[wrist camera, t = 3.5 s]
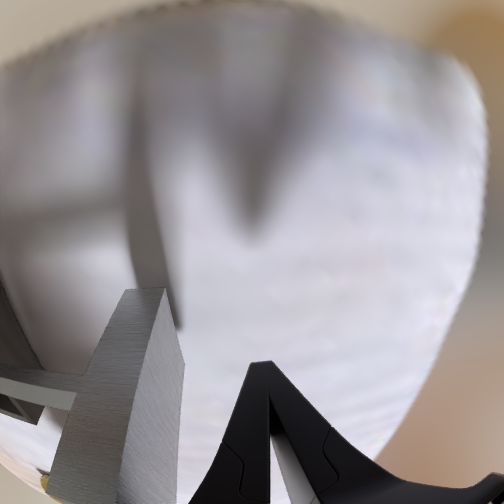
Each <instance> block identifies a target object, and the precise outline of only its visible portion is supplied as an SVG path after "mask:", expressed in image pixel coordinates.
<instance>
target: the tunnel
mask: <svg viewBox="0 0 504 504" xmlns="http://www.w3.org/2000/svg"><path fill="white" fill-rule="evenodd" d="M0 362H1V363H6V364H11V365H16V366H21V367H26V368H32V369H37V370H44V369H43V368H42V366H41V364H40V363H39V361H38V359H37V358H36V356H35V354H34V352H33V351H32V349H31V347H30V345H29V343H28V342H27V340H26V338H25V336H24V334H23V332H22V330H21V328H20V326H19V324H18V322H17V320H16V318H15V315H14V313H13V311H12V309H11V306H10V304H9V302H8V299H7V297H6V295H5V292H4V290H3V287H2V284H1V282H0ZM44 407H45V406H44V405H39V404H35V403H32V402H28V401H24V400H21V399H17V398H14V397H11V396H7V395H4V394H1V393H0V413H2V414H5V415H8V416H10V417H13V418H16V419H19V420H21V421H24V422H27V423H31V424H34V425H37V423H38V421H39V418H40V416H41V414H42V411H43V409H44Z"/></svg>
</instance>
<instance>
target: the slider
mask: <svg viewBox="0 0 504 504" xmlns="http://www.w3.org/2000/svg"><path fill="white" fill-rule="evenodd" d="M184 368H185V363H184V360H183V356H182V353H181V349H180V345H179V342H178V338H177V334H176V330H175V326H174V322H173V318H172V314H171V310H170V306H169V301H168V297H167V293H166V288H165V287H157V288H142V289H126V290H125V291H124V293H123V295H122V297H121V299H120V301H119V303H118V305H117V307H116V309H115V311H114V313H113V315H112V317H111V319H110V321H109V323H108V325H107V327H106V329H105V331H104V333H103V335H102V337H101V339H100V341H99V343H98V345H97V348H96V350H95V352H94V354H93V356H92V359H91V361H90V363H89V365H88V368H87V370H86V372H85V375H74V374H66V373H58V372H50V371H44V370H37V369H32V368H26V367H21V366H16V365H11V364H6V363H1V362H0V393H1V394H4V395H7V396H11V397H14V398H17V399H21V400H24V401H28V402H32V403H35V404H39V405H44V406H48V407H52V408H57V409H62V410H67V411H70V412H69V415H68V418H67V421H66V423H65V426H64V429H63V432H62V435H61V438H60V441H59V444H58V447H57V451H56V454H55V457H54V461H53V464H52V467H51V471H50V475H49V479H48V483H47V487H46V491H45V493H47V494H48V495H50V496H52V497H53V498H55V499H56V500H58V501H60V502H61V503H63V504H176V491H177V461H178V442H179V426H180V412H181V400H182V388H183V378H184Z"/></svg>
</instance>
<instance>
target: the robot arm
mask: <svg viewBox="0 0 504 504" xmlns="http://www.w3.org/2000/svg"><path fill="white" fill-rule="evenodd" d="M270 438H271V441H272V444H273V447H274V451H275V454H276V457H277V460H278V464H279V467H280V470H281V473H282V476H283V480H284V483H285V486H286V489H287V492H288V495H289V498H290V501H291V504H504V474H500V473H495V472H492V473H490V474H489V475H487V476H486V477H485V478H484V479H482V480H481V481H479V482H478V483H477V484H475V485H474V486H471V487H468V488H462V489H461V488H448V487H440V486H433V485H426V484H421V483H415V482H410V481H406V480H403V479H401V478H398V477H396V476H394V475H393V474H391V473H389V472H388V471H387V470H385V469H383V468H382V467H381V466H379V465H378V464H376V463H375V462H374V461H372V460H371V459H369V458H368V457H367V456H365V455H364V454H363V453H361V452H360V451H359V450H358V449H356V448H355V447H354V446H352V445H351V444H350V443H349V442H348V441H347V440H346V439H345V438H344V437H343V436H342V435H340V434H339V432H338V431H337V430H336V429H335V428H334V427H331V424H330V423H329V422H328V421H327V420H326V419H325V418H324V417H323V416H322V415H321V414H320V413H319V412H318V411H317V410H316V409H315V408H314V407H313V405H312V404H311V403H310V402H309V401H308V400H307V399H306V398H305V397H304V396H303V395H302V394H301V392H300V391H299V390H298V389H297V388H296V387H295V386H294V385H293V384H292V383H291V381H290V380H289V379H288V378H287V377H286V376H285V375H284V374H283V372H282V371H281V370H280V369H279V368H278V367H277V366H276V365H275V363H274V362H273V361H262V362H252V363H250V365H249V368H248V371H247V374H246V377H245V379H244V382H243V385H242V388H241V390H240V393H239V396H238V399H237V402H236V404H235V407H234V410H233V412H232V415H231V418H230V420H229V423H228V426H227V428H226V431H225V434H224V436H223V439H222V443H221V444H220V446H219V449H218V451H217V454H216V456H215V458H214V461H213V463H212V465H211V467H210V469H209V471H208V472H207V474H206V476H205V478H204V479H203V481H202V483H201V484H200V486H199V488H198V489H197V491H196V492H195V494H194V495H193V497H192V499H191V500H190V502H189V503H188V504H270Z"/></svg>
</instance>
